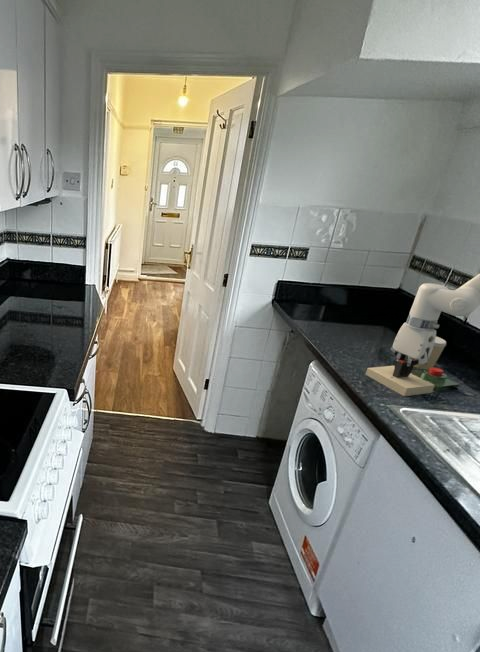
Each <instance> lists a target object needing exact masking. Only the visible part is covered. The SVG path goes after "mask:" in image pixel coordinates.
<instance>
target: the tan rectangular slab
mask: <svg viewBox="0 0 480 652" xmlns="http://www.w3.org/2000/svg"><path fill="white" fill-rule="evenodd" d="M394 369H395V365H386V366H385V365H384V366H375V367H367V369H366V372H365V374H364V375H365V376H367V377H369V378H370V379H372V380H374V381H376V382H377V383H379V384H381V385H383V386H385V387H386V388H388V389H390V390H392V391H393V392H395V393H396V394H399V395H401V396H402V397H410V396H419V395H426V394H432V393H433V392H434V390H433V388H434V386H435V385H434V384H432V383H430V382H427V381H425V380H423V379H421V378H419V377H417V376H415V375H413V374H411V373H410V374H409V376H408V377H400V378H396V377H394V376H392V375H393V372H394Z"/></svg>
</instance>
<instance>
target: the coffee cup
mask: <svg viewBox="0 0 480 652" xmlns="http://www.w3.org/2000/svg"><path fill="white" fill-rule="evenodd" d="M446 346H447V341H446V340H445V339H443V338H441V337H439V336H436V339H435V343H434V347H433V350H432V353H431V355H430V357H429V358H428V359H427V364H417V365H415V366H413V368H412V370H414V371H420V370H421V369H422V370H424V369H430V368H431V367H434V368H435V365H436V363H437V362H438V360H439V358H440V356H441V355H442V352H443V351H444V349H445V348H446ZM408 359H409V356H407V360H408ZM418 360H421V358H420V359H418ZM416 368H418V369H416ZM419 369H420V370H419Z"/></svg>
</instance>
